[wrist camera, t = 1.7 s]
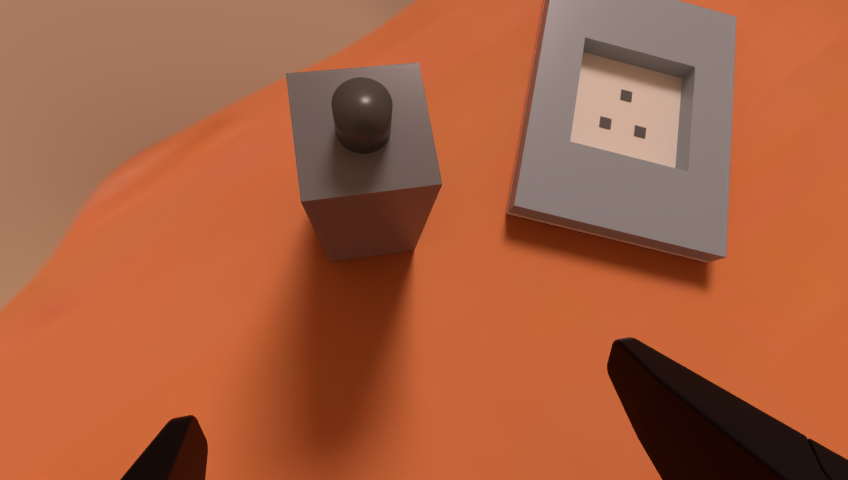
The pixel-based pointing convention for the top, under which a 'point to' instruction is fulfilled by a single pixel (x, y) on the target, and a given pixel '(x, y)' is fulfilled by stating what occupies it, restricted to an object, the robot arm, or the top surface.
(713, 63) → the socket
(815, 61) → the top surface
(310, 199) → the plug
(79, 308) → the top surface
